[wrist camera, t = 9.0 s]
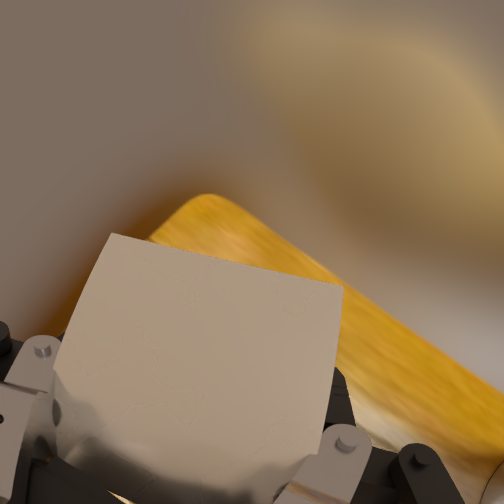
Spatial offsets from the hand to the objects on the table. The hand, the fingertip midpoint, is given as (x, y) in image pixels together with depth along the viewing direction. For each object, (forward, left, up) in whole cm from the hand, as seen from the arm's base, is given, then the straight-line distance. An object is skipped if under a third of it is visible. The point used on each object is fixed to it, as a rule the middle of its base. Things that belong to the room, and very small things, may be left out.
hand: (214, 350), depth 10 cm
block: (0, +2, -4) cm, 5 cm away
